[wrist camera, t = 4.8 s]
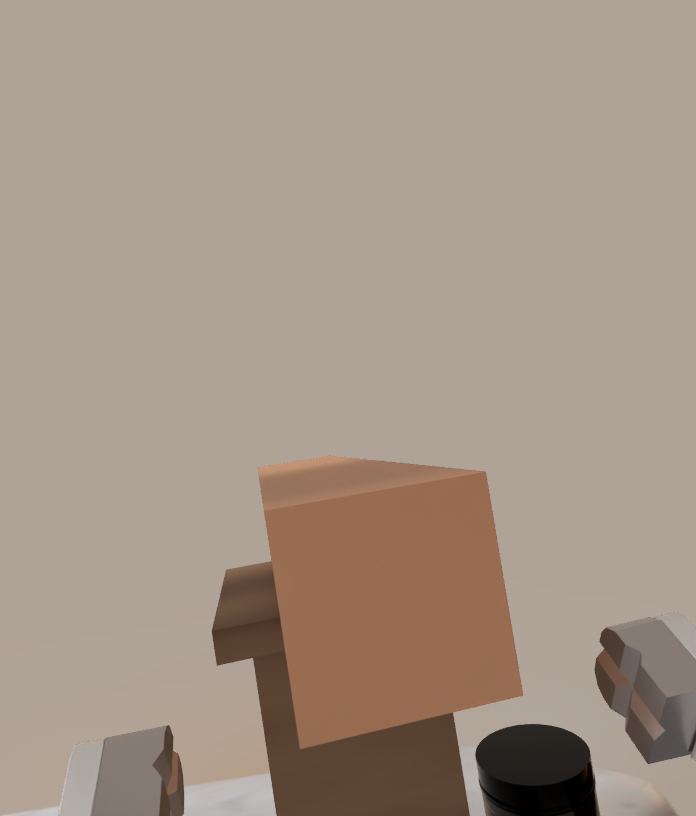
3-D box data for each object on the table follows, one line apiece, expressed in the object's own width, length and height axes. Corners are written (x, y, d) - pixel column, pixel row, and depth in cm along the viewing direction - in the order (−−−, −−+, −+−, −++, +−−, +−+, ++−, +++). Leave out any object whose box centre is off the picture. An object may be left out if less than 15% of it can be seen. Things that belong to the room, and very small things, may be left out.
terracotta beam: (522, 695, 11) (485, 471, 11) (300, 748, 10) (264, 510, 10) (340, 527, 33) (329, 455, 34) (268, 540, 33) (257, 467, 33)
